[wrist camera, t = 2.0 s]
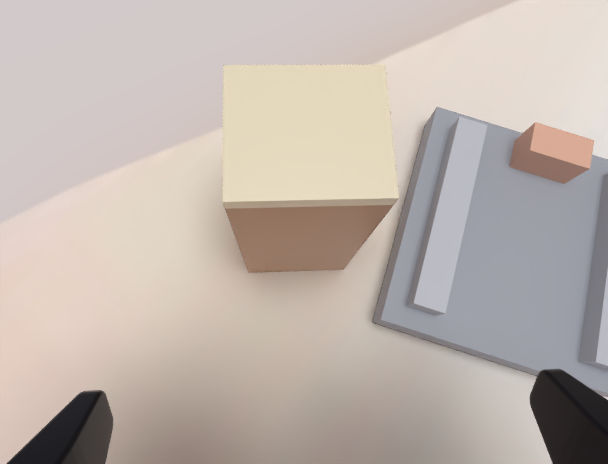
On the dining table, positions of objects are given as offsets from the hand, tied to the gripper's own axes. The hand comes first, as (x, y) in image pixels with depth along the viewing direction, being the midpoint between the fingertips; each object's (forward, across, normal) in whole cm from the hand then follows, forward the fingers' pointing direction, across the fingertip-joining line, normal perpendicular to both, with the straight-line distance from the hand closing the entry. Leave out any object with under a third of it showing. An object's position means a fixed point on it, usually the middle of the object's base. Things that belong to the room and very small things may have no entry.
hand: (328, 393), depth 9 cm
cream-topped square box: (+15, 0, +4) cm, 15 cm away
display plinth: (+14, -12, +5) cm, 19 cm away
